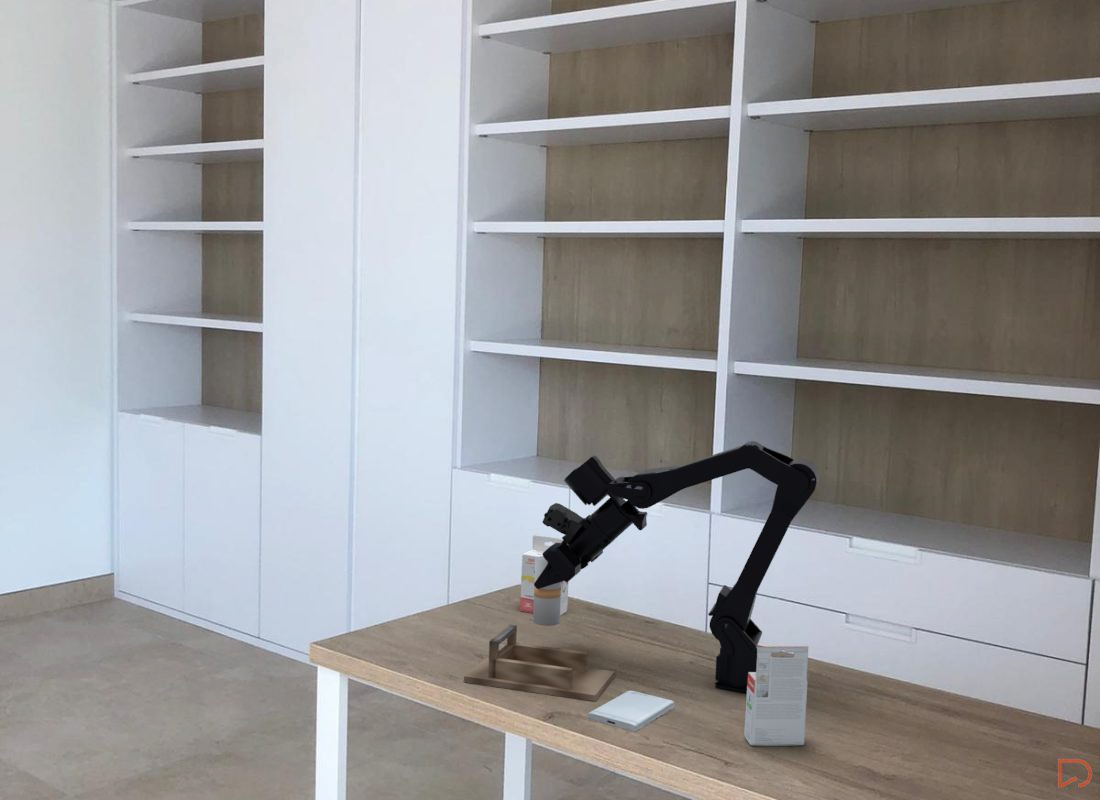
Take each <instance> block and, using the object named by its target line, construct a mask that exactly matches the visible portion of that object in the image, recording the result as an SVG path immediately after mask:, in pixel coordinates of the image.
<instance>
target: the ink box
mask: <svg viewBox="0 0 1100 800" xmlns="http://www.w3.org/2000/svg"><path fill="white" fill-rule="evenodd" d="M756 648H757V665H756V672H748V683H747V693H746V697H745V698H746V699H745V700H746V702H745V715H744V733H743V734H744V738H745V740H746V741H747V742H748V744H749V746H752V747H753V746H754V747H778V746H779V747H780V746H782V747H783V746H785V747H787V746H788V747H790V746H804V745H805V736H806V718H807V717H806V715H807V713H806V712H807V698H808V662H809V661H808V659H809V646H808V645H807V646H804V645H803V646H757V647H756ZM781 651H784V652H785V653H793V655H792V656H772V654H773V653H780V652H781Z"/></svg>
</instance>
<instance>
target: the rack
mask: <svg viewBox="0 0 1100 800" xmlns="http://www.w3.org/2000/svg"><path fill="white" fill-rule="evenodd" d="M517 627H518V626H517V625H516V624H508V626H506V627H505V628H504V629H502V631H500V632H499V633H498V634H496V635H495V636H494V637H493V638H491V639H490V640H489V643H488V645H489V646H488V649H489V650H488V656H487V657H486V658H484V659H483V660H481V662H480V663H478V664H477V665H475V667H473V668H472V669H471V670H469V671H468V672H466V674H465V675H464V676H463V683H466V682H467V683H468V684H473V683H474V685H481V686H486V685H487V687H494V688H499V689H500V688H501V689H509V690H515V691H520V692H521V691H522V692H529V693H534V692H535V693H536V694H542V695H549V696H556V697H563V698H571V699H576V700H582V701H590V702H596V701H597V699H599V697H600V696H601V695H602V693H603V692H604V691H605V690H606V689H607V687H608V686H609V685H610V684H611V682H612V680H614V679H615V671H612V670H606V669H600V668H599V669H598V668H591V667H588V662H589V661H588V660H589V659H588V656H589V652H588V651H581V650H579V651H578V650H573V649H572V650H571V649H566V648H557V647H552V646H551V647H549V646H544V645H535V644H527V643H520V642H517V631H518V629H517ZM505 640H506V642H507V643H506V644H505V645H504V646H503V647H502V648H499V647H500V645H501V644H502V643H503V642H504V641H505Z"/></svg>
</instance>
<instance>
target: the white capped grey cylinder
mask: <svg viewBox="0 0 1100 800" xmlns="http://www.w3.org/2000/svg"><path fill="white" fill-rule="evenodd" d="M547 564H548V562H547V561H546V559H545V558H544V557H543V556H540V557H536V558H535V577H534V583H535V582H536V580H537V579H538V577H539V576H540V574H541V573H542V571H543V570H544V569H545V567H546V565H547ZM560 605H561V582H559V583H556V584H553V585H550V586H546V587H543V588H540V589H537V588H536V587H535V586H534V613H533V614H532V615H533V618H532V619H533V623H534V624H536V625H538V626H543V627H544V626H545V627H548V626H556V625H559V624H561V616H560Z"/></svg>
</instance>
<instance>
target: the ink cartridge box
mask: <svg viewBox="0 0 1100 800" xmlns="http://www.w3.org/2000/svg"><path fill="white" fill-rule="evenodd" d="M562 541H563V539H562V538H559V537H551V536H546V535H537V534H534V535H533V536H532V549H531V550H528V551H526V552H524V553H522V557H521V578H520V579H521V582H520V604H519V611H520V612H524V613H525V612H526V613H531V614H534V577H535V558H536V557H540V556H543V554H542V553H544V552H545V551H546V550H547V549H548V548H549V547H550V546H551V545H548V544H545V543H550V542H551V543H552V544H555V543H562ZM568 596H569V581H568V582H565V581H562V582H561V605H560V617H561V616H562V615H564V614H565V613H567V612H568V605H569V604H568V600H569V597H568Z"/></svg>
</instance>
